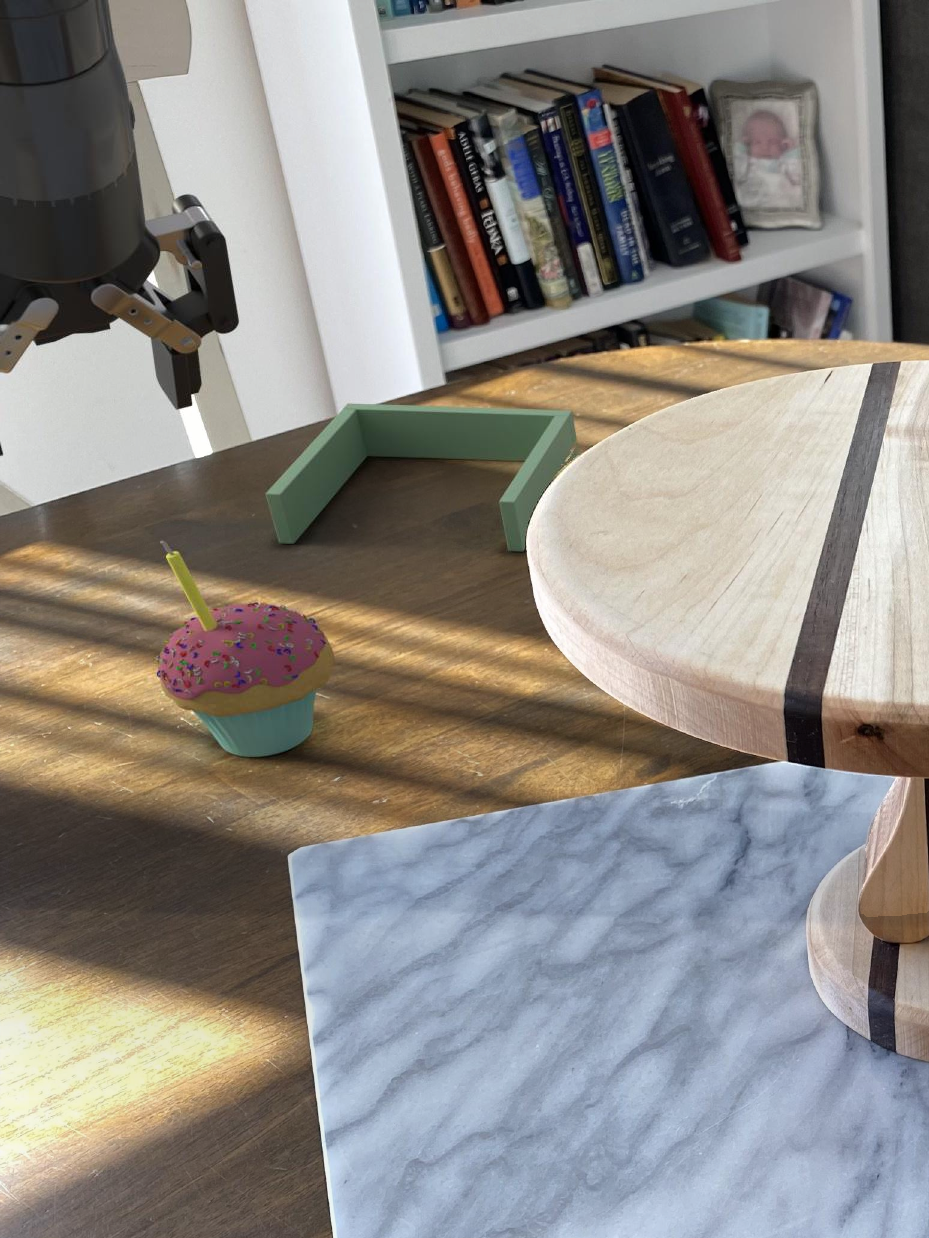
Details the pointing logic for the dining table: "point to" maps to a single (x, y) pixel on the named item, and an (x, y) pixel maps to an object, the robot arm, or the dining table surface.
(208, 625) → the cupcake
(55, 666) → the dining table surface
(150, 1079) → the dining table surface
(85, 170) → the robot arm
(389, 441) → the corral
